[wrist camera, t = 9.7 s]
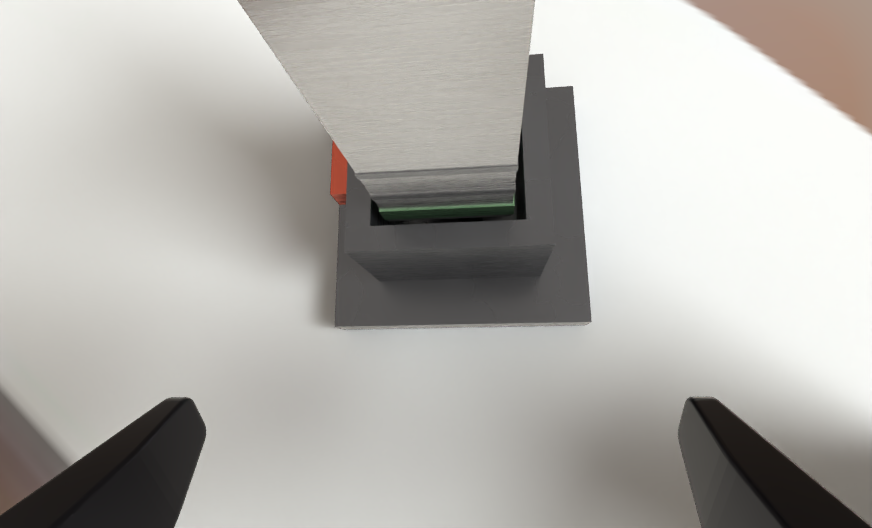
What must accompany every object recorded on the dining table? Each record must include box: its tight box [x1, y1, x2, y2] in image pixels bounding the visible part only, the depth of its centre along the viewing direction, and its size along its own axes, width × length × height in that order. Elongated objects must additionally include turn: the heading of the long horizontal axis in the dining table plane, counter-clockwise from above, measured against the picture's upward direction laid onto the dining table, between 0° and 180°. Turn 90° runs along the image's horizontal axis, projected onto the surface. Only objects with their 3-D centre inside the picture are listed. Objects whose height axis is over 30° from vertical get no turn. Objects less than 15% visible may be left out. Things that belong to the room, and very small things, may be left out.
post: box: [238, 0, 535, 221], centre depth 10 cm, size 4×4×13 cm
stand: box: [330, 54, 591, 330], centre depth 18 cm, size 10×10×6 cm
